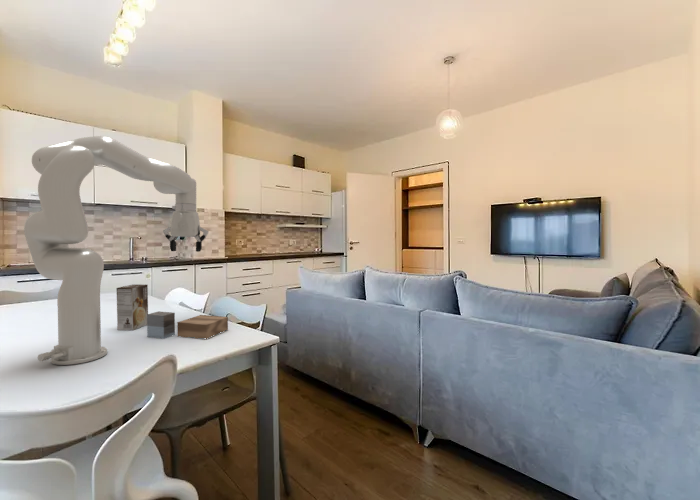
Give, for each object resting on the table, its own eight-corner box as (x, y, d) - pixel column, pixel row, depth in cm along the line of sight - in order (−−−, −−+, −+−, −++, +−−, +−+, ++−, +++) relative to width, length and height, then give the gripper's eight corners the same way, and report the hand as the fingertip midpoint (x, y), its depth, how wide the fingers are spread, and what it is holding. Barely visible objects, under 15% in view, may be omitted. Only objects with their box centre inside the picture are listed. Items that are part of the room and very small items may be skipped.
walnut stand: (206, 339, 115) (206, 324, 115) (177, 336, 118) (177, 322, 118) (227, 330, 126) (227, 317, 126) (200, 327, 129) (200, 314, 129)
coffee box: (133, 324, 134) (132, 284, 133) (148, 324, 133) (148, 284, 133) (116, 330, 124) (115, 287, 124) (133, 330, 124) (132, 287, 124)
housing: (163, 338, 115) (163, 315, 115) (147, 337, 117) (147, 314, 117) (174, 334, 120) (174, 312, 120) (158, 333, 122) (158, 311, 121)
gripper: (159, 207, 130) (159, 251, 130) (204, 208, 131) (204, 251, 132) (168, 209, 137) (168, 250, 138) (211, 210, 139) (211, 251, 139)
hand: (186, 251), depth 135 cm, fingers open, 9 cm apart
